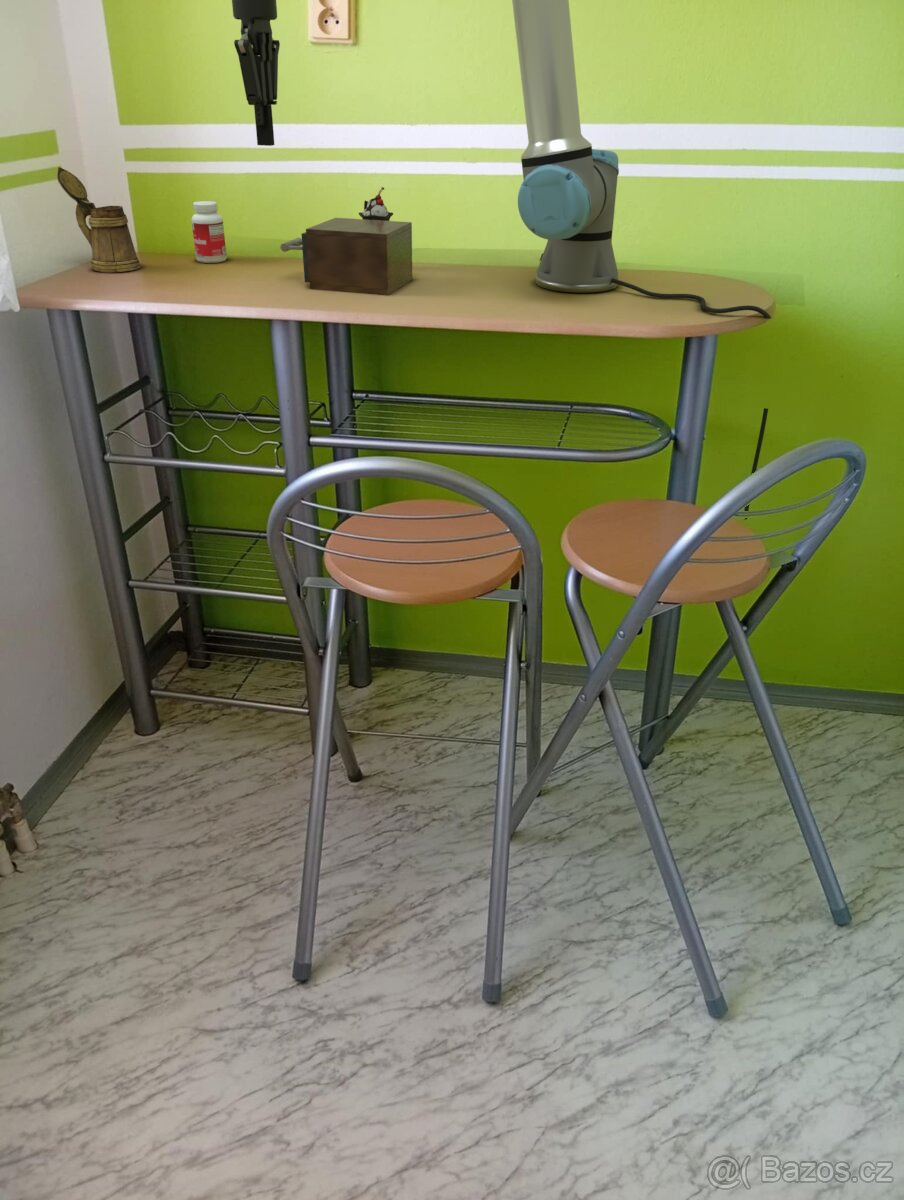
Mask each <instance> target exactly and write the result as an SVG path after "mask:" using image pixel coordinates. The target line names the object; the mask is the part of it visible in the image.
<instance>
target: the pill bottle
mask: <svg viewBox="0 0 904 1200" xmlns="http://www.w3.org/2000/svg"><path fill="white" fill-rule="evenodd" d="M192 206H193V211H194V212H195V213H194V214H193V215H192V217H191V228H192V237H193V245H194V253H195V260H196V261H197V262H199V263H202V264H218V263H224V262H225V261H227V257H228V255H227V245H226V237H225V228H224V219H223V216H222V215H221V214H219V213H218V210H219V206H218V202H217V201H211V200H210V201H209V200H201V201H194V202H192Z"/></svg>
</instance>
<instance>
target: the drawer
mask: <svg viewBox="0 0 904 1200" xmlns="http://www.w3.org/2000/svg"><path fill="white" fill-rule="evenodd" d="M300 235H301V237H296V238H293V239H289V240H288V241H286V242H283V243H281V244H280V246H279V247H280V250H281V251H282V252H284V253H286V252H289V251H291V250H292V251H302V263H303V264H302V265H303V276H304V283H309V271H308V255H307V240H306V231H305V232H302V233H301V234H300Z"/></svg>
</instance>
